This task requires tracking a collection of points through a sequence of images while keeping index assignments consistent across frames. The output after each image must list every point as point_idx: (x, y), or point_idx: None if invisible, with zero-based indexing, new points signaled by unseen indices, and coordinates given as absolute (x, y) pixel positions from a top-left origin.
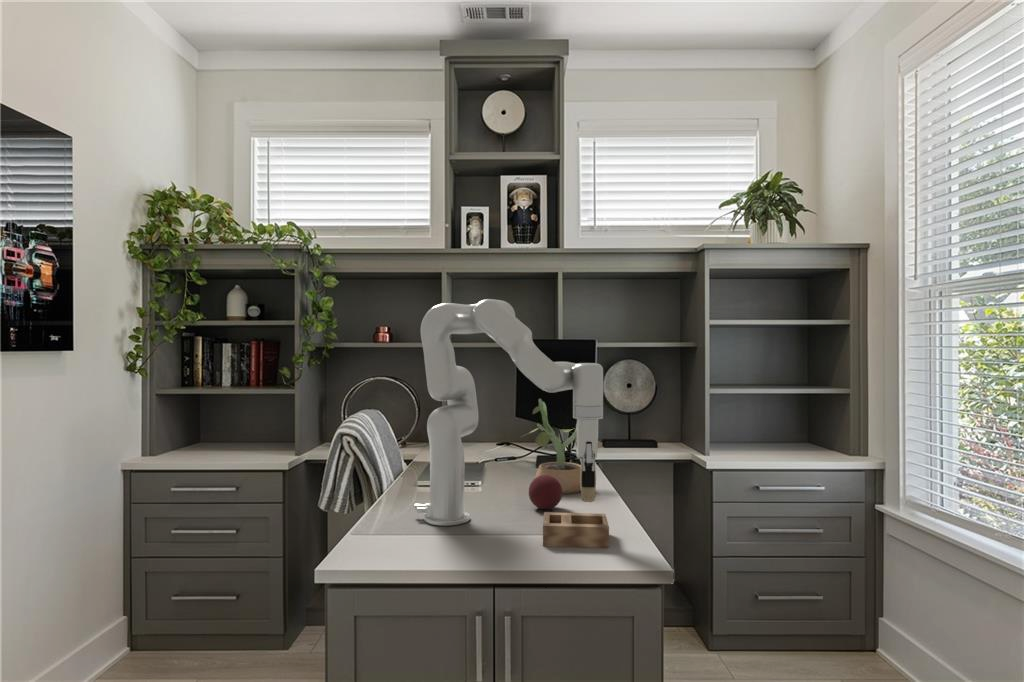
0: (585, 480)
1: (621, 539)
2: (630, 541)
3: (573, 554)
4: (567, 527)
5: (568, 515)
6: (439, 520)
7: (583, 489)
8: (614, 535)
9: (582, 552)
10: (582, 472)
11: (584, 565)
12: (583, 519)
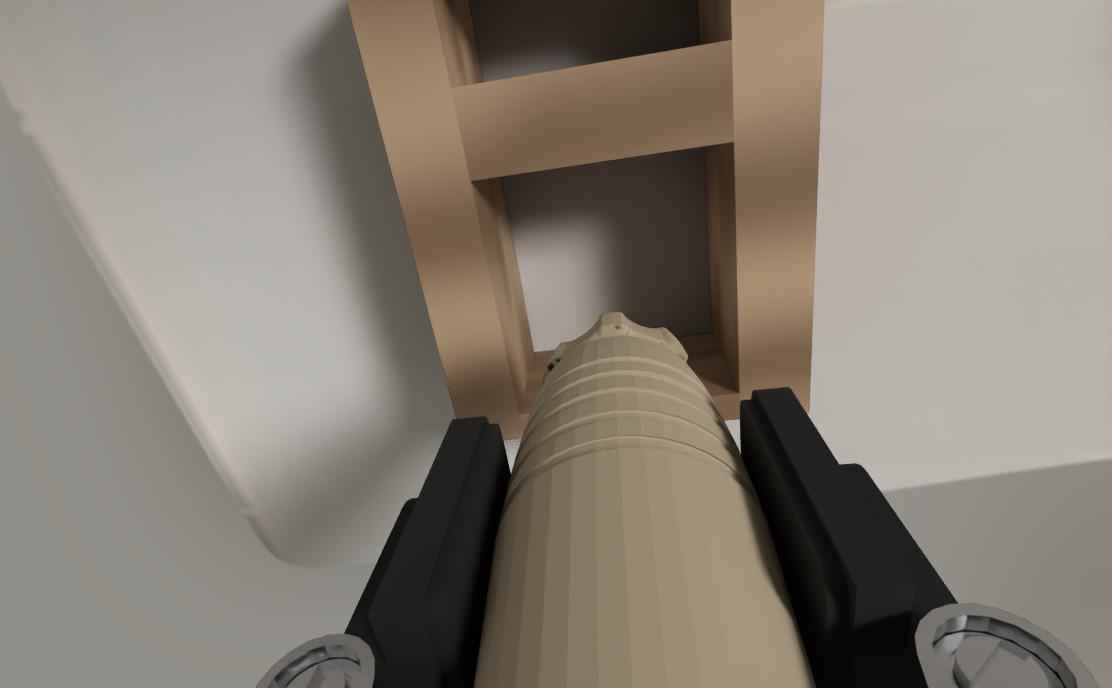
0: (391, 532)
1: None
2: None
3: (311, 196)
4: (391, 154)
5: (723, 119)
6: None
7: (538, 400)
8: None
9: (366, 245)
10: (386, 596)
11: (173, 274)
12: (728, 246)
